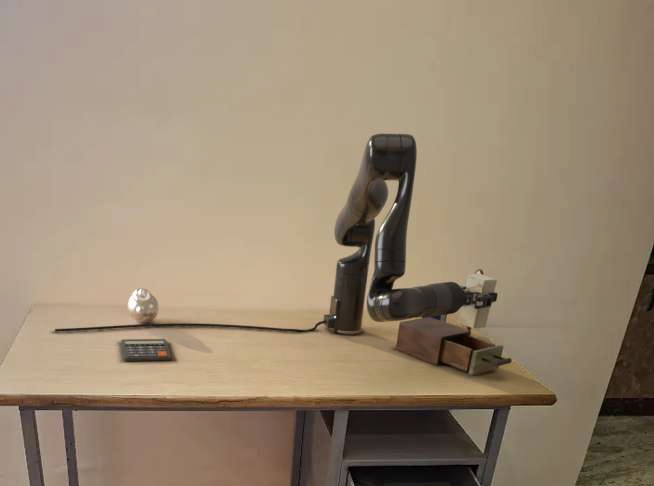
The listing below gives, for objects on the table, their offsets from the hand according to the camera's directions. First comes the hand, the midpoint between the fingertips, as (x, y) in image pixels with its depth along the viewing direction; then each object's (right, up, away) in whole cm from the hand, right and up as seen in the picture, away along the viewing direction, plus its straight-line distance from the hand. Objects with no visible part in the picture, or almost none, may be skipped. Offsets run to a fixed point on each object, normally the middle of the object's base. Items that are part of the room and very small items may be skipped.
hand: (484, 293), depth 177 cm
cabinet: (-10, -11, +18) cm, 24 cm away
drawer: (-1, -17, +9) cm, 19 cm away
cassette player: (-3, +3, +45) cm, 45 cm away
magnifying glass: (+5, -3, +34) cm, 35 cm away
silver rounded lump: (-91, -1, +27) cm, 96 cm away
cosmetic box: (-2, -7, +3) cm, 8 cm away
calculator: (-87, -14, +5) cm, 88 cm away
